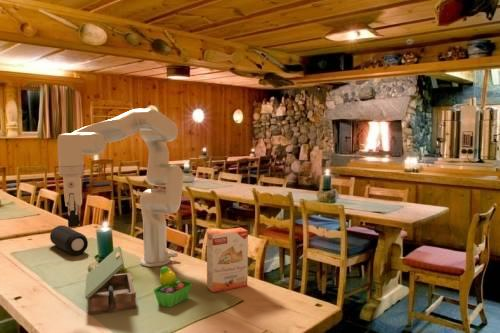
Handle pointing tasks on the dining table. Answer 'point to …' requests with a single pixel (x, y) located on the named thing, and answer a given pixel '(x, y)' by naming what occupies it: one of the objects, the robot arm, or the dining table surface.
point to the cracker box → (227, 259)
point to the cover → (103, 272)
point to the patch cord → (111, 297)
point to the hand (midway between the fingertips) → (73, 225)
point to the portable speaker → (69, 240)
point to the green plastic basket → (171, 288)
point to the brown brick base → (121, 292)
